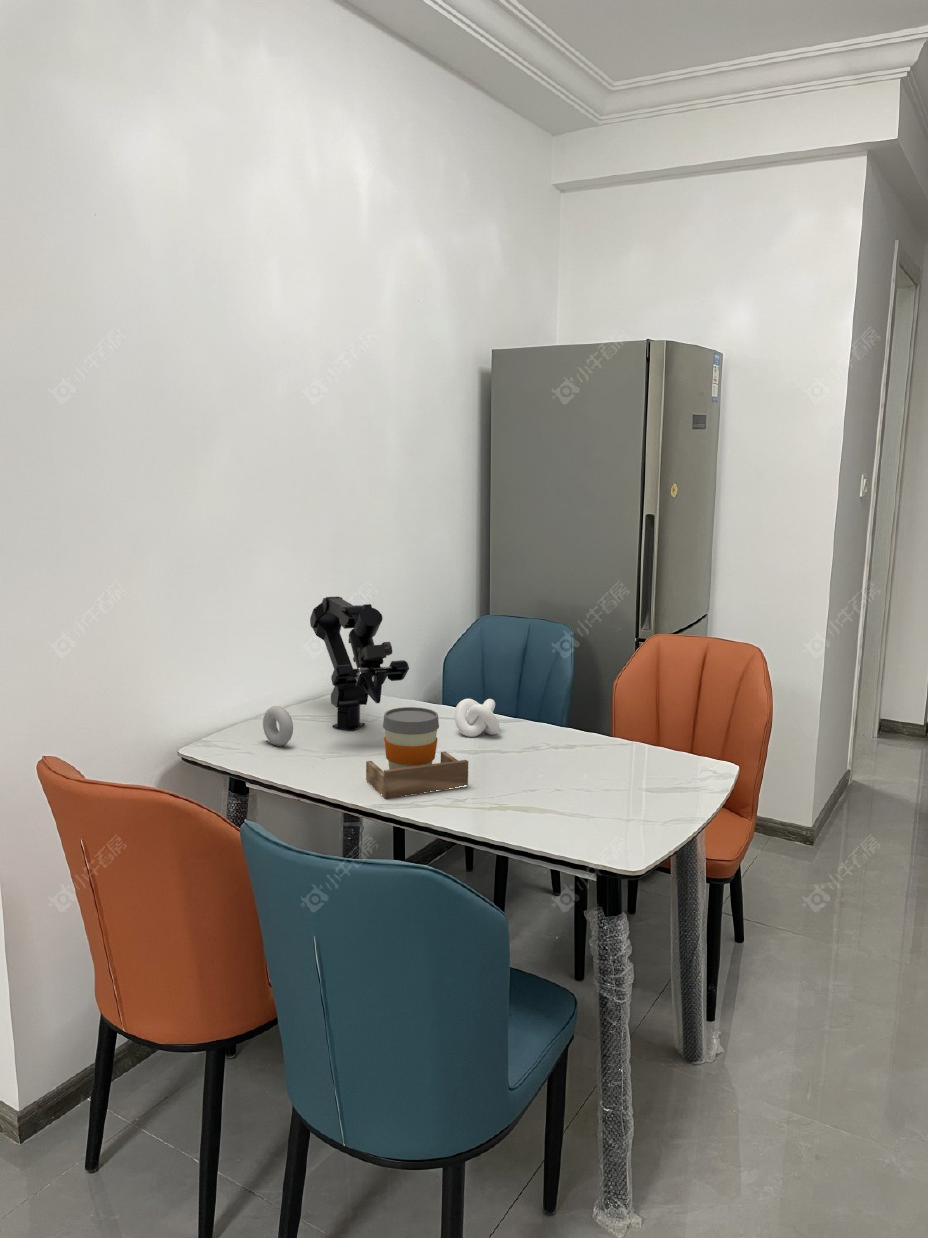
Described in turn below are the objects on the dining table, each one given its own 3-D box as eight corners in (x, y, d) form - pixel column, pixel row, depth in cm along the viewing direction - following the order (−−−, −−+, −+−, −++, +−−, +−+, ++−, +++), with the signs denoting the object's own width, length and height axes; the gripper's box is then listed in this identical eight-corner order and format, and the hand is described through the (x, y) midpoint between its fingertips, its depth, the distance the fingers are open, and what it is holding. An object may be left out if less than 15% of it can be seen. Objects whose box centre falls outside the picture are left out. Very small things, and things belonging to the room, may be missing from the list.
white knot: (459, 741, 241) (460, 707, 239) (449, 728, 252) (450, 695, 251) (502, 739, 244) (503, 706, 242) (490, 726, 255) (491, 694, 253)
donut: (296, 748, 232) (296, 709, 230) (285, 751, 230) (284, 711, 228) (271, 739, 239) (270, 701, 237) (260, 742, 236) (259, 703, 234)
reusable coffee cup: (370, 778, 213) (371, 713, 210) (410, 765, 222) (411, 703, 219) (409, 792, 204) (410, 725, 202) (449, 779, 213) (450, 715, 211)
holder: (366, 780, 211) (366, 754, 210) (445, 770, 219) (445, 745, 218) (385, 799, 200) (385, 772, 199) (467, 787, 208) (468, 761, 207)
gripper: (335, 633, 227) (349, 688, 219) (407, 628, 235) (423, 682, 227) (325, 657, 235) (338, 712, 227) (395, 652, 243) (410, 705, 235)
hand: (378, 702), depth 229 cm, fingers closed
